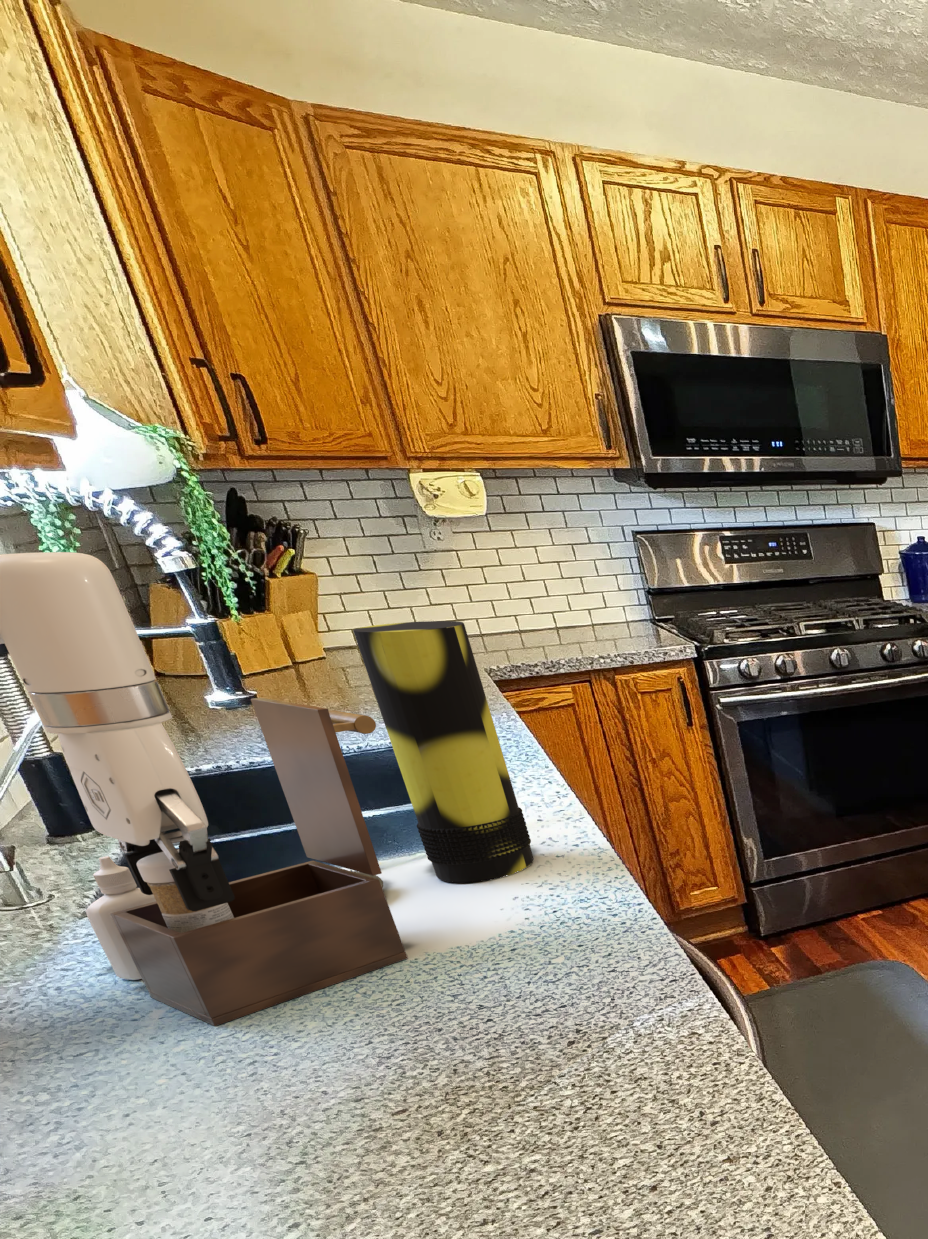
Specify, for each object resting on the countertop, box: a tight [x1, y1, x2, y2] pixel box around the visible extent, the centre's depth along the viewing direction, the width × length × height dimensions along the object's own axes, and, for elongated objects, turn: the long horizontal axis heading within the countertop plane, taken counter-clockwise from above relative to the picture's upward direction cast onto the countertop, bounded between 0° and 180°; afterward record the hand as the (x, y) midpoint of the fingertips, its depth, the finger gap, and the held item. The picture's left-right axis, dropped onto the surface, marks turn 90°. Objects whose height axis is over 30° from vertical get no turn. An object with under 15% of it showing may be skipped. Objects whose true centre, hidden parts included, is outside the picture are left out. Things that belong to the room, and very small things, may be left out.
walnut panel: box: [250, 697, 382, 876], centre depth 100 cm, size 16×13×6 cm
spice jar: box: [137, 848, 234, 933], centre depth 92 cm, size 5×5×14 cm
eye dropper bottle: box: [85, 855, 156, 981], centre depth 97 cm, size 4×6×12 cm
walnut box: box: [110, 860, 409, 1027], centre depth 96 cm, size 16×13×9 cm
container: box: [352, 620, 535, 884], centre depth 120 cm, size 11×11×30 cm
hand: (188, 896), depth 91 cm, fingers open, 8 cm apart
